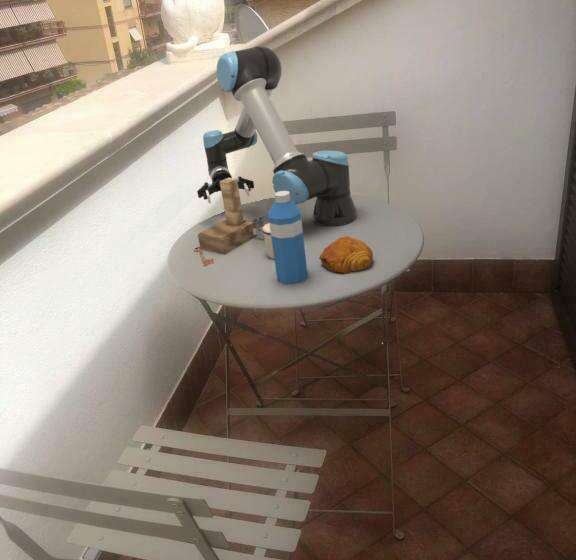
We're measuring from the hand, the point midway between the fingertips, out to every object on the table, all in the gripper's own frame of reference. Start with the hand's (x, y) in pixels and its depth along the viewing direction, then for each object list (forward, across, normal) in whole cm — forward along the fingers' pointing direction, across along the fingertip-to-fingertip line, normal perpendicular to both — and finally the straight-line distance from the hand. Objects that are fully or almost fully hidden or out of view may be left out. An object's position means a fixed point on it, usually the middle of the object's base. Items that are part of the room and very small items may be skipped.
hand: (228, 196), depth 198 cm
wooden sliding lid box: (+12, +3, -12) cm, 17 cm away
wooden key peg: (+10, 0, -12) cm, 15 cm away
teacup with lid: (+28, -11, -12) cm, 32 cm away
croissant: (+44, -27, -12) cm, 53 cm away
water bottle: (+46, -11, -12) cm, 49 cm away
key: (+20, +12, -12) cm, 26 cm away
